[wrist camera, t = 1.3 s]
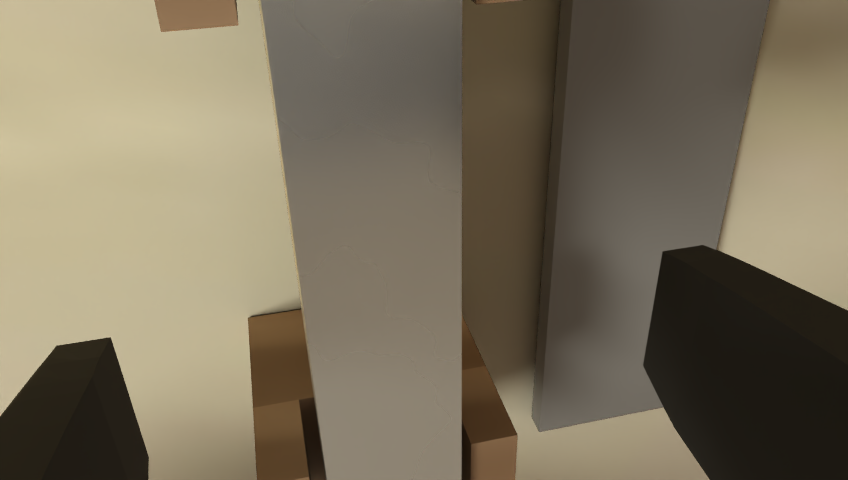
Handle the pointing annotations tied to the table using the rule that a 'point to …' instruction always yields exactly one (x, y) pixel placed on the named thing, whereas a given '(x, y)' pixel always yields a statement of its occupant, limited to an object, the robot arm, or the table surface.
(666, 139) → the gray bar
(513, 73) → the table surface
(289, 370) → the cradle posts
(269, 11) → the rail
